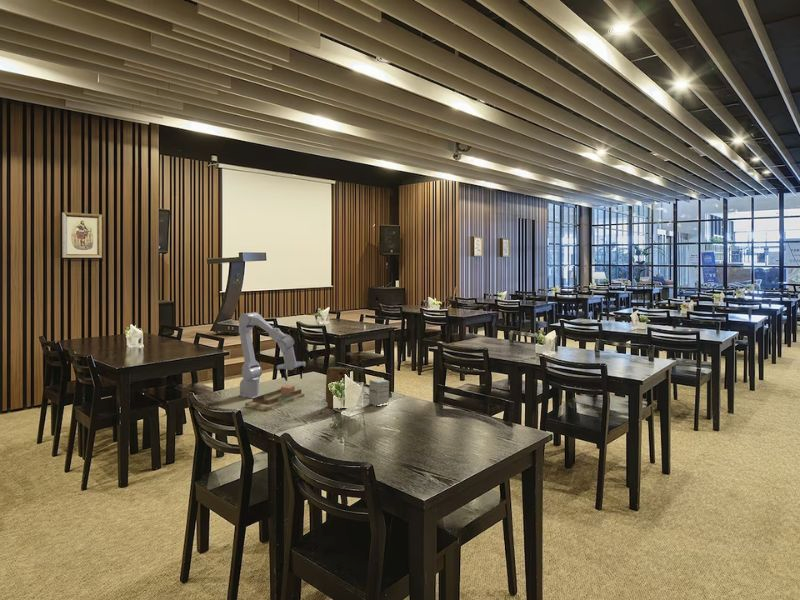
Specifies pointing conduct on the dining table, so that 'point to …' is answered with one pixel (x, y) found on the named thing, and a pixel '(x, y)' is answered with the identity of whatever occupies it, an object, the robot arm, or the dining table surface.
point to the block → (333, 376)
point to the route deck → (274, 400)
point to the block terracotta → (287, 389)
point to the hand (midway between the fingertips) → (294, 378)
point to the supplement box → (378, 391)
